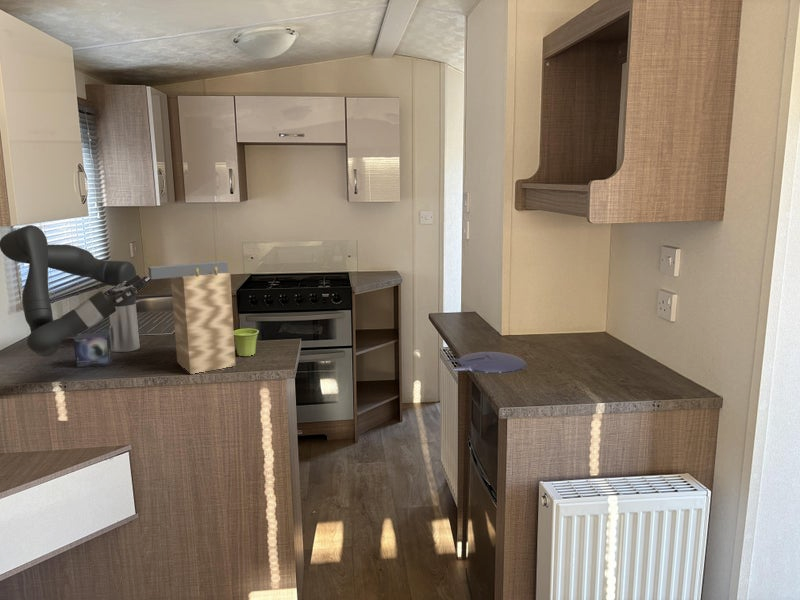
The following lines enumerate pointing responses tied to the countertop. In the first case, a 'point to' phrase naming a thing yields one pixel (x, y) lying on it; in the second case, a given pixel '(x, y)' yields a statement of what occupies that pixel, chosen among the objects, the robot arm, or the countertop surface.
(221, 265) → the bar
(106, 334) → the small box
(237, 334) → the plant pot
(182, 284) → the oak block
